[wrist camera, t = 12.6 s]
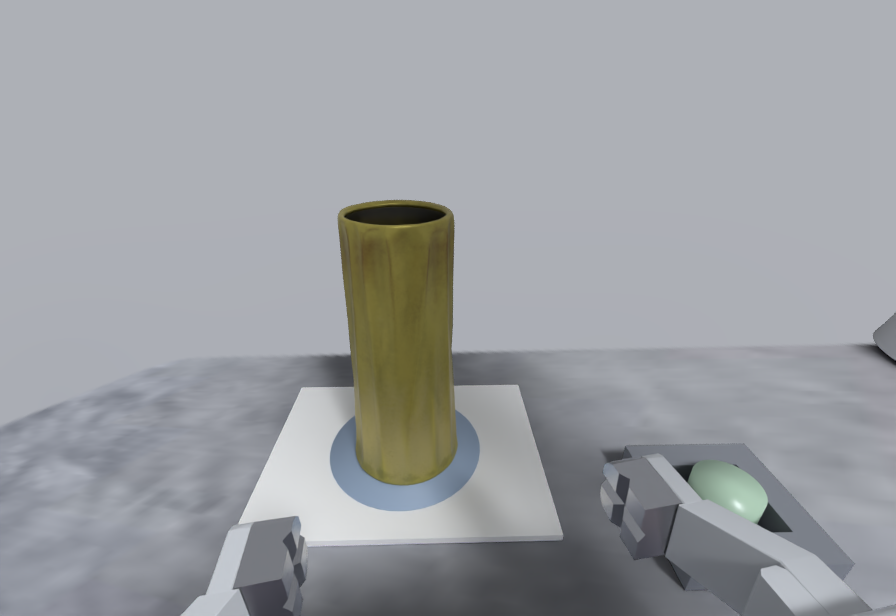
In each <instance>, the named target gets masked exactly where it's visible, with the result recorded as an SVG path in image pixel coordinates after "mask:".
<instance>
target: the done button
mask: <svg viewBox="0 0 896 616" xmlns="http://www.w3.org/2000/svg"><path fill="white" fill-rule="evenodd" d="M687 483H688V484H689V485H690V487H691V488H692V489H693V490H694V491H695V492H696V493H697V494H698V496H699V497H700V498H701V499H702V500H707V499H708V500H710V501H712V502H714V503H716V504H718V505H720V506H722V507H724V508H726V509H727V510H729V511H731V512H733V513H735V514H737V515H739V516H741V517H743V518H745V519H747V520H749V521H751V522H753V523H755V524H758V522H759V520H760V518H761V516H762V514H763V512H764V510H765V508H766V506H767V503H768V498H767V495H766V492H765V490H764V489H763V487H762V486H761V485H760V484H759V483H758V481H757V480H755V479H754V478H753V477H752V476H751V475H749V474H748V473H747V472H745V471H743V470H742V469H740V468H738V467H736V466H734V465H732V464H729V463H726V462H722V461H718V460H703V461H699V462H698V463H696V464H695V465H694V466H693V468H692V471H691V474H690V476H689V479H688V482H687Z"/></svg>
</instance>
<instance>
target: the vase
mask: <svg viewBox="0 0 896 616" xmlns="http://www.w3.org/2000/svg"><path fill="white" fill-rule="evenodd" d="M338 229H339V237H340V248H341V259H342V271H343V280H344V289H345V298H346V307H347V316H348V327H349V339H350V349H351V360H352V369H353V378H354V397H355V420H356V457H357V460H358V462H359V464H360V466H361V467H362V469H363V470H364V471H365V472H366V473H367V474H369V475H370V476H372V477H373V478H375V479H377V480H379V481H381V482H384V483H387V484H392V485H414V484H418V483H422V482H425V481H428V480H430V479H432V478H434V477H436V476H437V475H439V474H440V473H441V472H443V471H444V470H445V469H446V468H447V467H448V466H449V465H450V464H451V463H452V461H453V459H454V457H455V455H456V452H457V447H458V441H457V433H456V415H455V395H454V379H453V364H452V351H451V346H452V345H451V344H452V328H453V260H454V258H453V257H454V216H453V213H452V211H451V210H450V209H448V208H447V207H445V206H442V205H439V204H435V203H431V202H423V201H412V200H385V201H373V202H366V203H361V204H356V205H351V206H348V207H346V208H344V209H342V210H341V211H340V212H339V214H338Z"/></svg>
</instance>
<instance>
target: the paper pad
mask: <svg viewBox="0 0 896 616" xmlns="http://www.w3.org/2000/svg"><path fill="white" fill-rule="evenodd" d="M454 395H455V415H456V433H457V441H458V447H457V452H456V455H455V457H454V459H453V461H452V463H451V464H450V465H449V466H448V467H447V468H446V469H445V470H444V471H443V472H441V473H440V474H439V475H437V476H436V477H434V478H432V479H430V480H428V481H425V482H422V483H418V484H414V485H392V484H387V483H384V482H381V481H379V480H377V479H375V478H373V477H372V476H370V475H369V474H367V473H366V472H365V471H364V470H363V469H362V467H361V466H360V464H359V462H358V460H357V457H356V420H355V397H354V387H302V389H301V391H300V393H299V395H298V397H297V399H296V401H295V404H294V406H293V408H292V410H291V412H290V414H289V416H288V418H287V421H286V423H285V425H284V427H283V429H282V431H281V433H280V436H279V438H278V440H277V442H276V444H275V446H274V448H273V451H272V453H271V455H270V457H269V459H268V461H267V463H266V465H265V468H264V470H263V472H262V474H261V476H260V478H259V480H258V483H257V485H256V487H255V489H254V491H253V493H252V495H251V498H250V500H249V502H248V504H247V506H246V508H245V510H244V513H243V515H242V517H241V519H240V521H239V523H238V524H245V523H251V522H257V521H264V520H271V519H278V518H285V517H291V516H298V517H299V520H300V523H301V530H300V535H301V536H303V537H304V538H305V541H306V545H307V547H312V546H353V545H393V544H434V543H475V542H516V541H557V540H563V532H562V529H561V525H560V522H559V519H558V515H557V512H556V509H555V505H554V502H553V499H552V496H551V492H550V489H549V486H548V482H547V479H546V476H545V472H544V469H543V466H542V462H541V459H540V456H539V453H538V449H537V446H536V443H535V439H534V436H533V433H532V429H531V426H530V423H529V419H528V416H527V413H526V410H525V406H524V403H523V400H522V396H521V393H520V390H519V386H518V385H461V386H454Z"/></svg>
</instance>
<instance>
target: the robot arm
mask: <svg viewBox="0 0 896 616" xmlns="http://www.w3.org/2000/svg"><path fill="white" fill-rule="evenodd" d="M873 338H874V341H875V343H876V344H877V345H878V347H879V348H880V349H881V350H883V351H884V352H885V353H886V354H887V355H889V356H890V357H891V358H893V359H894V360H896V313H895V314H894V315H893V316H892V317H891V318H890V319H888V321H886V322H885V324H883V325H882V326H881V327H879V328H878V329H877V330H876V331H875V332H874V334H873ZM603 474H604V475H605V477H606V478H607V479H606V480H605V481H604V482H603V483H602V485H601V491H600V496H601V501H602V505H603V508H604V510H605V513H606V515H607V516H608V518H609V520H610V521H611V522H612V523H614V524H615V525H617V526H618V527H620V538H621V540H622V541H623V543H624V544H625V546H626V548H627V549H628V551H629V553H630V554H631V556H632V557H633V559H634V560H638V559H644V558H650V557H655V556H661V555H665V557H666V558H667V559H669V560H670V561H671V562H673V563H674V564H675V565H677V566H678V567H679V568H680V569H682V570H683V571H684V572H686V573H687V574H688V575H689V576H691V577H692V578H693V579H695V580H696V581H697V582H699V583H700V584H701V585H702V586H704V587H705V588H706V589H708V590H709V591H710V592H712V593H713V594H714V595H715V596H717V597H718V598H719V599H721V600H722V601H723V602H725V603H726V604H727V605H728V606H730V607H731V608H732V609H734V610H735V611H736V612H738V613H739V614H740V615H741V616H896V604H895V605H891V606H887V607H883V608H879V609H875V610H872V609H871V608H870V607H869V606H868V605H867V604H866V603H865V602H864V601H863V600H862V599H861V598H860V597H859V596H858V595H857V594H856V593H855V592H854V591H853V590H852V589H850V588H849V587H848V586H847V585H846V584H845V583H844V582H843V581H842V580H841V579H840V578H839V577H838V576H837V575H836V574H835V573H834V572H833V571H832V570H831V569H830V568H829V567H828V566H827V565H826V564H825V563H824V562H823V561H822V560H820V559H819V558H818V557H817V556H816V555H815V554H813V553H811V552H809V551H807V550H805V549H803V548H801V547H799V546H797V545H795V544H793V543H791V542H789V541H788V540H786V539H784V538H782V537H780V536H778V535H776V534H774V533H772V532H770V531H768V530H766V529H764V528H762V527H760V526H758V525H757V524H755V523H753V522H751V521H749V520H747V519H745V518H743V517H741V516H739V515H737V514H735V513H733V512H731V511H729V510H727V509H726V508H724V507H722V506H720V505H718V504H716V503H714V502H712V501H710V500H708V499H707V500H702V499H701V498H700V497H699V496H698V494H697V493H696V492H695V491H694V490H693V489H692V488H691V487H690V485H689V484H688V483H687V482H686V481H685V480H684V479H683V478H682V477H681V475H680V474H679V473H678V472H677V471H676V470H675V469H674V468H673V467H672V465H671V464H670V463H669V462H668V461H667V460H666V459H665V458H664V457H663V456H662V455H660V454H659V453H657V454H651V455H645V456H641V457H639V456H638V457H633V458H627V459H622V460H616V461H611V462H607V463H606V464H605V465H604V470H603ZM300 530H301V523H300V520H299V517H298V516H291V517H285V518H278V519H271V520H264V521H257V522H251V523H245V524H238V525H233V526H232V527H231V528H230V530H229V531H228V533H227V536H226V539H225V541H224V544H223V547H222V550H221V553H220V555H219V558H218V561H217V564H216V567H215V569H214V572H213V575H212V578H211V581H210V583H209V586H208V589H207V592H206V595H202V596H198V597H197V598H196V599H195V601H194V602H193V603H192V604H191V605H190V606H189V607H188V608H187V609H186V610H185V611H184V612H183V613H182V614H181V616H301V609H302V602H303V598H302V594H301V591H300V587H301V585H302V584H303V583H304V581H305V580H306V574H307V559H308V553H307V545H306V541H305V538H304V537H303V536H301V535H300Z"/></svg>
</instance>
